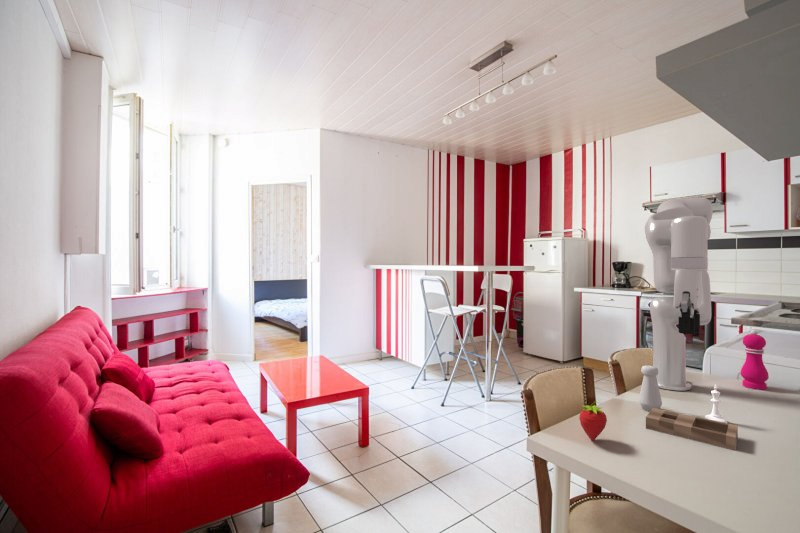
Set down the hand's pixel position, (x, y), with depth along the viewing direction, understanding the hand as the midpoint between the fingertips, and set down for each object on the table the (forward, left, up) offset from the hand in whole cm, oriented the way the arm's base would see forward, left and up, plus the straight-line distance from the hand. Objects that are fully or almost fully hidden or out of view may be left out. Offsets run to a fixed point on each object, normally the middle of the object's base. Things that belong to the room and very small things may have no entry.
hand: (689, 331), depth 99 cm
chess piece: (-14, +4, -26) cm, 30 cm away
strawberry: (+21, -17, -26) cm, 38 cm away
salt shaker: (-11, -11, -26) cm, 31 cm away
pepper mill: (-59, +11, -26) cm, 66 cm away
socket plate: (0, 0, -26) cm, 26 cm away
